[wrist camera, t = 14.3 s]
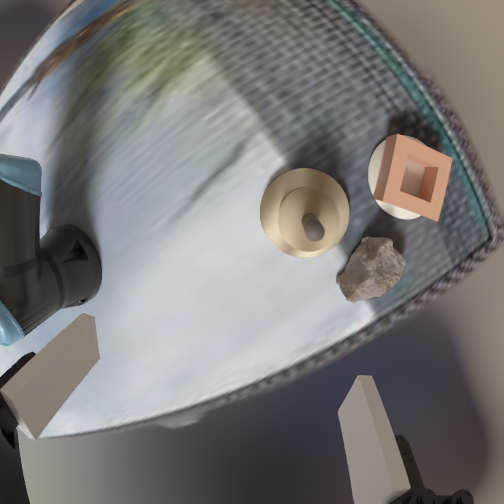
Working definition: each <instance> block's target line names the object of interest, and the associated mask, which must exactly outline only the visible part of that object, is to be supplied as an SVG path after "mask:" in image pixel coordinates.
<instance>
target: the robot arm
mask: <svg viewBox="0 0 504 504" xmlns="http://www.w3.org/2000/svg"><path fill="white" fill-rule="evenodd" d="M41 176H42V170H41V166H40V164H39V163H38V162H37V161H36V160H33V159H30V158H24V157H18V156H12V155H4V154H0V345H2V346H10V345H12V344H13V343H15V342H16V341H18V340H19V339H23V338H24V337H25V336H26V335H27V334H28V333H30V332H31V331H32V330H33V329H35V328H36V327H37V326H39V325H40V324H41V323H42V322H44V321H45V320H46V319H48V318H49V317H50V316H52V315H53V314H54V313H56V312H57V311H58V310H60V309H63V308H68V307H74V306H79V305H82V304H85V303H86V302H88V301H89V300H91V299H92V298H93V297H94V296H95V295H96V294H97V292H98V290H99V288H100V284H101V265H100V261H99V257H98V254H97V252H96V250H95V247H94V246H93V244H92V242H91V241H90V239H89V238H88V237H87V235H86V234H85V233H84V232H83V231H81V230H80V229H79V228H77V227H75V226H72V225H61V226H58V227H55V228H53V229H51V230H49V231H48V232H47V233H46V234H45V235H44V236H43V237H42V238H41V239H40V233H39V224H40V201H41V196H42V192H41ZM99 359H100V355H99V349H98V341H97V334H96V325H95V317H93V316H90V315H88V314H85V313H82V314H81V315H80V316H79V317H78V318H76V319H75V320H74V321H73V322H72V323H71V324H69V325H68V326H67V327H66V328H65V329H64V330H63V331H61V332H60V333H59V334H58V335H57V336H56V337H55V338H54V339H52V340H51V341H50V342H49V343H48V344H47V345H46V346H45V347H44V348H43V349H41V350H40V351H39V352H38V353H37V354H36V353H34V352H30V353H28V354H26V355H24V356H22V357H21V358H20V359H19V360H18V361H17V363H15V364H14V365H13V366H12V367H11V368H9V369H8V370H7V371H6V372H5V373H4V374H3V375H2V376H1V377H0V504H30V502H29V498H28V494H27V490H26V485H25V480H24V476H23V470H22V464H21V458H20V452H19V442H18V434H17V429H16V427H17V426H18V425H19V426H20V427H21V429H22V430H23V432H24V433H26V434H27V435H28V436H30V437H31V438H33V439H34V440H35V441H36V440H37V438H38V437H39V435H40V434H41V433H42V431H43V430H44V429H45V427H46V426H47V425H48V423H49V422H50V421H51V419H52V418H53V417H54V415H55V414H56V413H57V411H58V410H59V409H60V408H61V406H62V405H63V404H64V402H65V401H66V400H67V399H68V397H69V396H70V395H71V393H72V392H73V391H74V390H75V388H76V387H77V386H78V385H79V383H80V382H81V381H82V380H83V378H84V377H85V376H86V375H87V374H88V372H89V371H90V370H91V369H92V367H93V366H94V365H95V364H96V363H97V361H98V360H99ZM338 415H339V420H340V424H341V430H342V435H343V440H344V445H345V451H346V456H347V461H348V468H349V473H350V479H351V486H352V492H353V499H354V504H473V502H474V501H473V496H472V494H471V493H470V492H469V491H467V490H464V489H463V490H459V491H457V492H455V493H454V494H453V495H451V496H441V495H436V494H435V493H434V492H433V491H432V490H430V489H426V488H425V487H424V485H423V482H422V479H421V476H420V473H419V470H418V468H417V465H416V462H415V461H414V456H413V454H412V451H411V448H410V445H409V443H408V441H407V440H406V439H405V438H404V437H403V436H402V435H395V436H394V434H393V431H392V429H391V425H390V423H389V420H388V417H387V414H386V412H385V409H384V407H383V404H382V401H381V398H380V396H379V393H378V391H377V388H376V386H375V383H374V381H373V378H372V376H365V375H358V376H357V378H356V380H355V382H354V384H353V386H352V388H351V389H350V391H349V393H348V395H347V397H346V398H345V400H344V402H343V404H342V405H341V407H340V409H339V410H338Z"/></svg>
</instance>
